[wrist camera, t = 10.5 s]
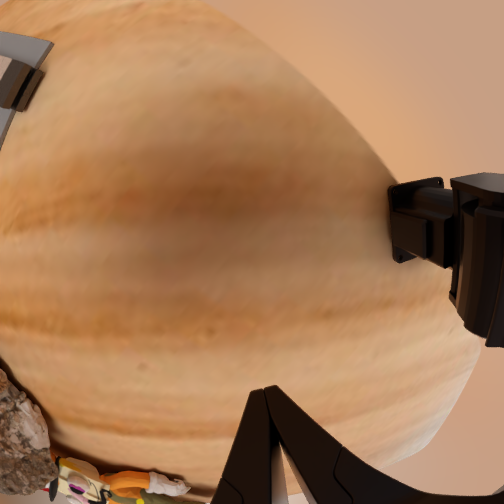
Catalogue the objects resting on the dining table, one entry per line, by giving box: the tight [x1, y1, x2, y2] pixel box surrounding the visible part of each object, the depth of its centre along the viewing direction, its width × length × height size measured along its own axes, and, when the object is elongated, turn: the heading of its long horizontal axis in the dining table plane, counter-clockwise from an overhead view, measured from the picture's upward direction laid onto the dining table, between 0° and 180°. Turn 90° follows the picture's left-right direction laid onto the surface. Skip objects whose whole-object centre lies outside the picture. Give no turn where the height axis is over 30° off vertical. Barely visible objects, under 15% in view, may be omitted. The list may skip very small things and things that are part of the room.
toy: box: [41, 451, 205, 504], centre depth 22 cm, size 17×10×30 cm
